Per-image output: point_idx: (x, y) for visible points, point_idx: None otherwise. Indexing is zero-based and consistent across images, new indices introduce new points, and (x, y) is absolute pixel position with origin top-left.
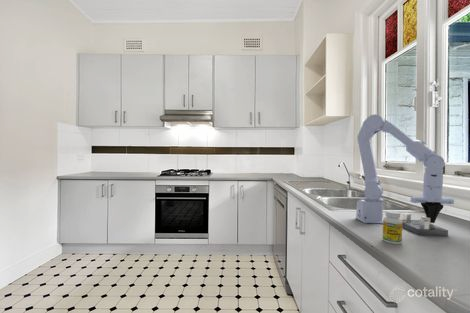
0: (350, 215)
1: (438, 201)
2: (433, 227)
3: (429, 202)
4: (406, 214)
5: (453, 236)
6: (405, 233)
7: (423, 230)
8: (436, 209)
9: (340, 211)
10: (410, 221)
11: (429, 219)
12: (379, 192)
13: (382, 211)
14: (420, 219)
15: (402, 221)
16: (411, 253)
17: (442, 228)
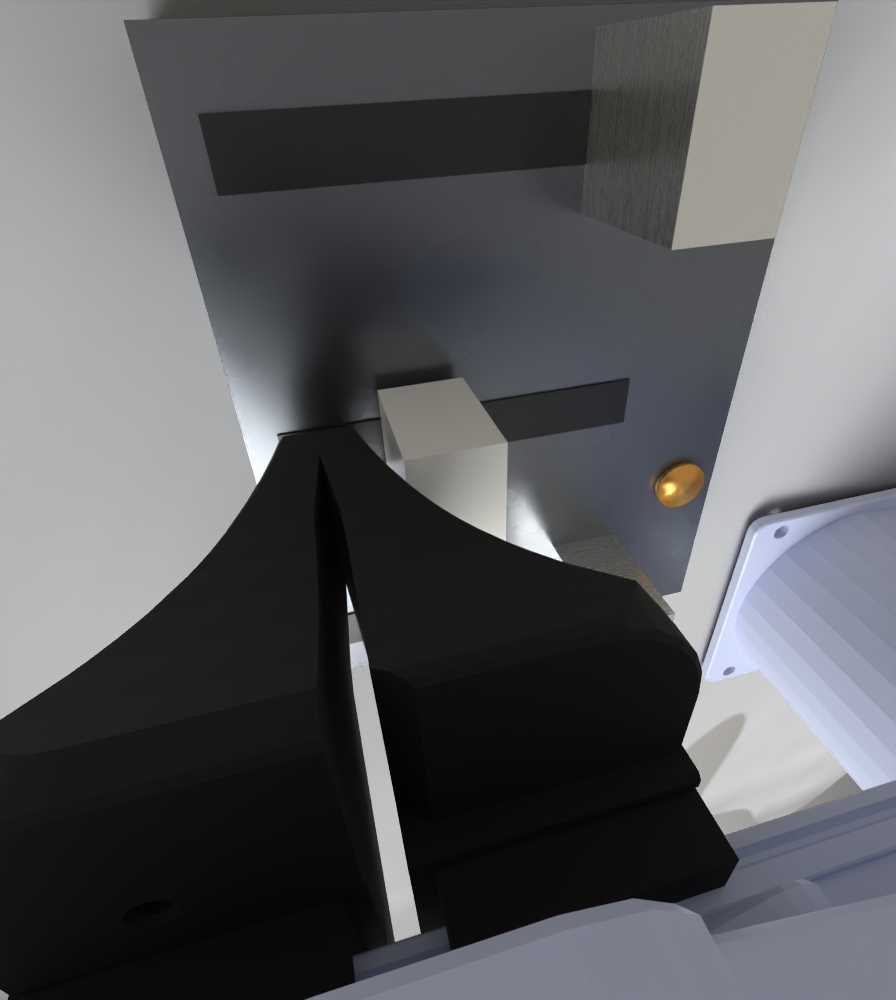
0: None
1: (587, 960)
2: (380, 250)
3: (599, 900)
4: (671, 615)
5: (16, 27)
6: (885, 69)
7: (703, 6)
8: (318, 601)
9: (833, 759)
10: (557, 546)
11: (417, 439)
12: None
13: (888, 647)
14: (761, 238)
15: (677, 509)
16: None
17: (205, 204)
